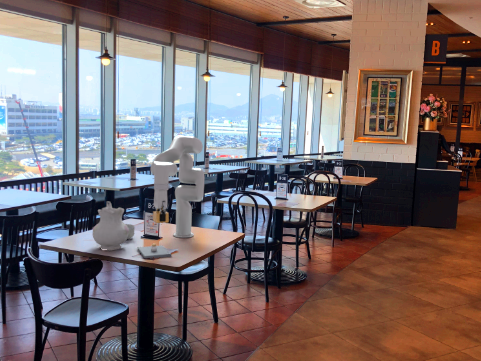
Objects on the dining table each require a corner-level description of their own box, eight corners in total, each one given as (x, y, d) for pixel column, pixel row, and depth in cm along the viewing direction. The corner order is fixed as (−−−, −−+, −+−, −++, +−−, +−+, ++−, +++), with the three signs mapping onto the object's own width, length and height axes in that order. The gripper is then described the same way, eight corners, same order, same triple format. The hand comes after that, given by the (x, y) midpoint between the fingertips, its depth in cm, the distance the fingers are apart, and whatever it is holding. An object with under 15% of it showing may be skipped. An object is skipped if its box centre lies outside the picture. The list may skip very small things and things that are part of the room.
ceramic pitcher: (87, 246, 264) (83, 203, 260) (120, 240, 275) (117, 198, 271) (100, 256, 246) (97, 210, 242) (135, 248, 258) (132, 204, 253)
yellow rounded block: (153, 220, 252) (153, 211, 251) (164, 220, 255) (165, 211, 254) (156, 223, 246) (156, 213, 245) (168, 222, 249) (168, 213, 248)
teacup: (132, 236, 287) (132, 223, 287) (136, 240, 278) (136, 226, 277) (109, 237, 281) (109, 224, 281) (112, 242, 272) (112, 228, 271)
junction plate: (137, 249, 256) (137, 241, 256) (162, 248, 262) (162, 239, 262) (144, 258, 240) (144, 249, 240) (171, 256, 246) (171, 247, 245)
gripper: (150, 185, 254) (149, 217, 256) (158, 189, 239) (158, 223, 241) (163, 184, 258) (163, 216, 260) (173, 188, 242) (172, 222, 244)
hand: (160, 219), depth 250 cm, fingers closed on yellow rounded block, 6 cm apart
